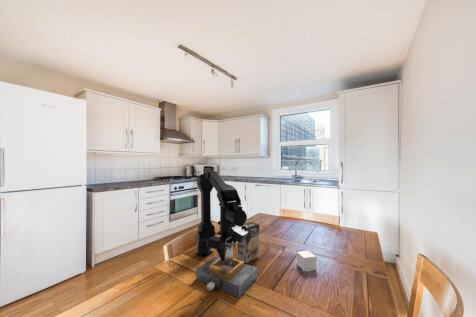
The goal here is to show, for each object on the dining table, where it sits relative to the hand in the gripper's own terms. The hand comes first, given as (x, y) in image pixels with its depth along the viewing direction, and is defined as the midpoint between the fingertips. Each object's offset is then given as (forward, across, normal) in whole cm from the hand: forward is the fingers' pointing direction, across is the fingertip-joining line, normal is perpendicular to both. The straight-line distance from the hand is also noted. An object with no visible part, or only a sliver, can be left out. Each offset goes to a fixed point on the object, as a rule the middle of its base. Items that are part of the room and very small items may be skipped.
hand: (226, 258), depth 79 cm
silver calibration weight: (+2, 0, 0) cm, 2 cm away
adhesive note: (+8, +26, -25) cm, 37 cm away
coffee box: (+8, +20, +1) cm, 22 cm away
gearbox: (+8, -2, 0) cm, 9 cm away
